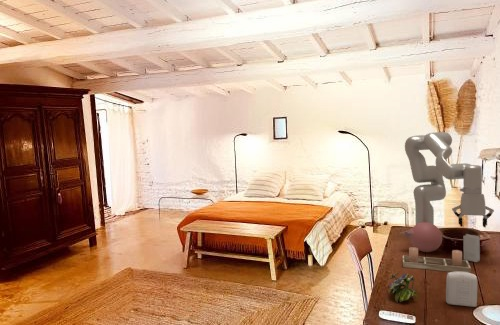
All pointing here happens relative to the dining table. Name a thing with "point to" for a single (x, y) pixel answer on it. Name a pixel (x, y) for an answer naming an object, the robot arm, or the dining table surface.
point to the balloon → (424, 236)
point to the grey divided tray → (455, 262)
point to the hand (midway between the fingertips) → (472, 226)
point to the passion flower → (405, 291)
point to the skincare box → (471, 247)
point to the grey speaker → (461, 289)
